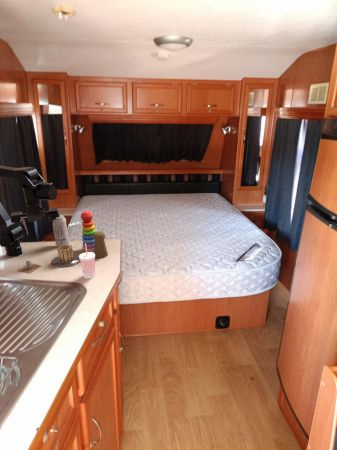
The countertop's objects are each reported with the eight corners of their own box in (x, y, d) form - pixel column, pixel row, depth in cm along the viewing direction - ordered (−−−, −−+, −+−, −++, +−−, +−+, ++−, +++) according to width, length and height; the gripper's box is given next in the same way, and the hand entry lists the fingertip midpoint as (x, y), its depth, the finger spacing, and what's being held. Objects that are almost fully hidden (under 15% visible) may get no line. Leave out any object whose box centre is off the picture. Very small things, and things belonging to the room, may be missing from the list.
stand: (17, 272, 133) (15, 264, 132) (29, 265, 139) (28, 256, 138) (30, 275, 131) (28, 266, 129) (42, 267, 137) (41, 259, 135)
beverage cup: (98, 277, 128) (95, 245, 123) (83, 281, 126) (78, 248, 121) (95, 270, 133) (92, 239, 128) (80, 273, 131) (76, 242, 126)
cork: (109, 252, 149) (107, 229, 145) (105, 258, 143) (103, 235, 139) (96, 252, 149) (94, 229, 145) (92, 258, 144) (89, 235, 140)
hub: (44, 266, 137) (42, 253, 135) (64, 253, 149) (63, 241, 146) (69, 272, 133) (67, 258, 130) (88, 258, 144) (87, 245, 142)
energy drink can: (54, 248, 154) (49, 218, 148) (58, 243, 159) (53, 214, 154) (67, 248, 154) (63, 218, 148) (70, 243, 159) (66, 214, 154)
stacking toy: (86, 245, 157) (81, 207, 150) (102, 245, 156) (98, 208, 149) (80, 252, 150) (74, 213, 143) (96, 253, 148) (92, 214, 142)
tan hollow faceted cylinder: (59, 264, 137) (57, 251, 135) (59, 258, 142) (57, 245, 140) (74, 262, 138) (72, 249, 136) (73, 256, 144) (71, 243, 141)
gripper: (4, 207, 124) (13, 244, 130) (56, 201, 129) (61, 237, 135) (9, 199, 134) (16, 234, 140) (56, 194, 139) (61, 228, 145)
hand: (39, 233), depth 140 cm, fingers open, 9 cm apart
